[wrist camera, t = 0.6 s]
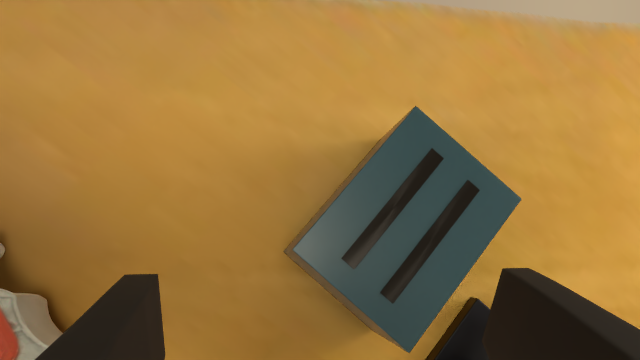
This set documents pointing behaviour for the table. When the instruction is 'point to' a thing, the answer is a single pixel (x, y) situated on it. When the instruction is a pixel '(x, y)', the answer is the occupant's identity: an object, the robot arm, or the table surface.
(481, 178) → the toaster
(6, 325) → the red grey lobed slab
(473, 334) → the bracket
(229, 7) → the table surface
